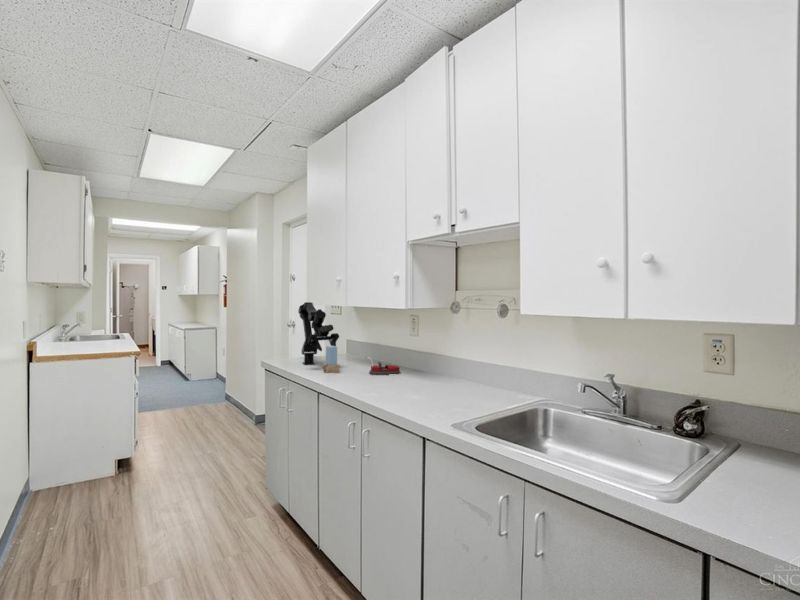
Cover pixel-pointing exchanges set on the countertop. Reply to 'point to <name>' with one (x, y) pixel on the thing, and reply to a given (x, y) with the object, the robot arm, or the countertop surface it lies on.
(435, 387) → the countertop surface
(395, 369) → the bumper car
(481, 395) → the countertop surface
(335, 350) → the pillar
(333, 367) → the slab top
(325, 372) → the slab bottom
